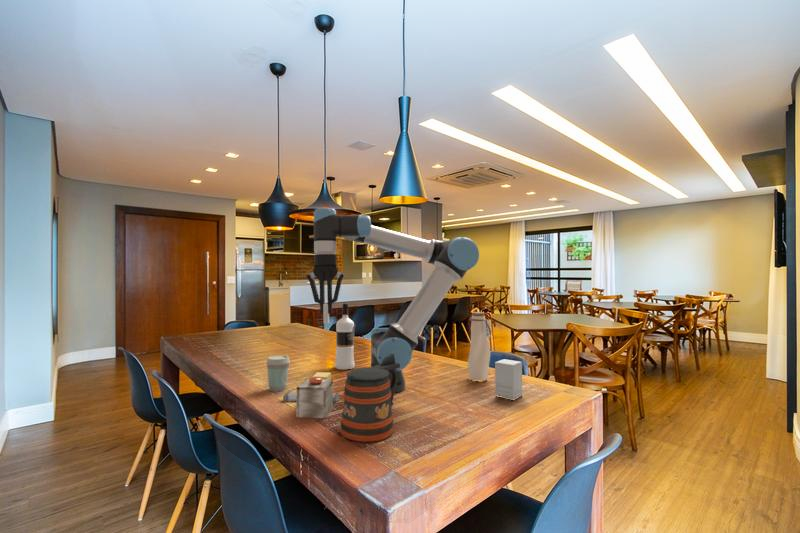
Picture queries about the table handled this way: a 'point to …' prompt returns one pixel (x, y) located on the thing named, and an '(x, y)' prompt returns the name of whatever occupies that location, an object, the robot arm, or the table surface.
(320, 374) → the carriage
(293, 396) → the rail
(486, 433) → the table surface
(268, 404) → the table surface
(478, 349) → the water bottle
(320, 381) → the plunger
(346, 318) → the vodka
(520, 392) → the supplement box
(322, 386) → the grey open box
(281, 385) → the coffee cup
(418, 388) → the table surface
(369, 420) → the beer stein
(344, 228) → the robot arm
